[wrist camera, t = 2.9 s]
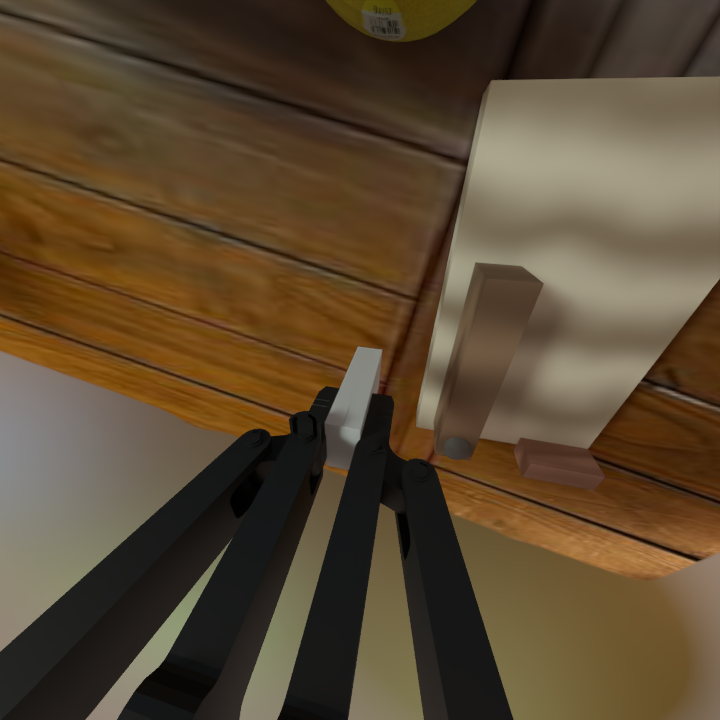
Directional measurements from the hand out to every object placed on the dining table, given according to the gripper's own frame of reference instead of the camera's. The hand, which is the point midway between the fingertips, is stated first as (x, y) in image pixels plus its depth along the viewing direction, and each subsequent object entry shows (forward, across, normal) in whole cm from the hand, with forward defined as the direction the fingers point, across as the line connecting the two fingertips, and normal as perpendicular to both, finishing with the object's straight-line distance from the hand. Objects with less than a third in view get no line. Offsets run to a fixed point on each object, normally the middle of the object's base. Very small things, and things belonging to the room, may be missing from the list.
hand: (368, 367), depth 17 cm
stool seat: (+10, +12, +2) cm, 16 cm away
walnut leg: (+7, +7, -2) cm, 10 cm away
